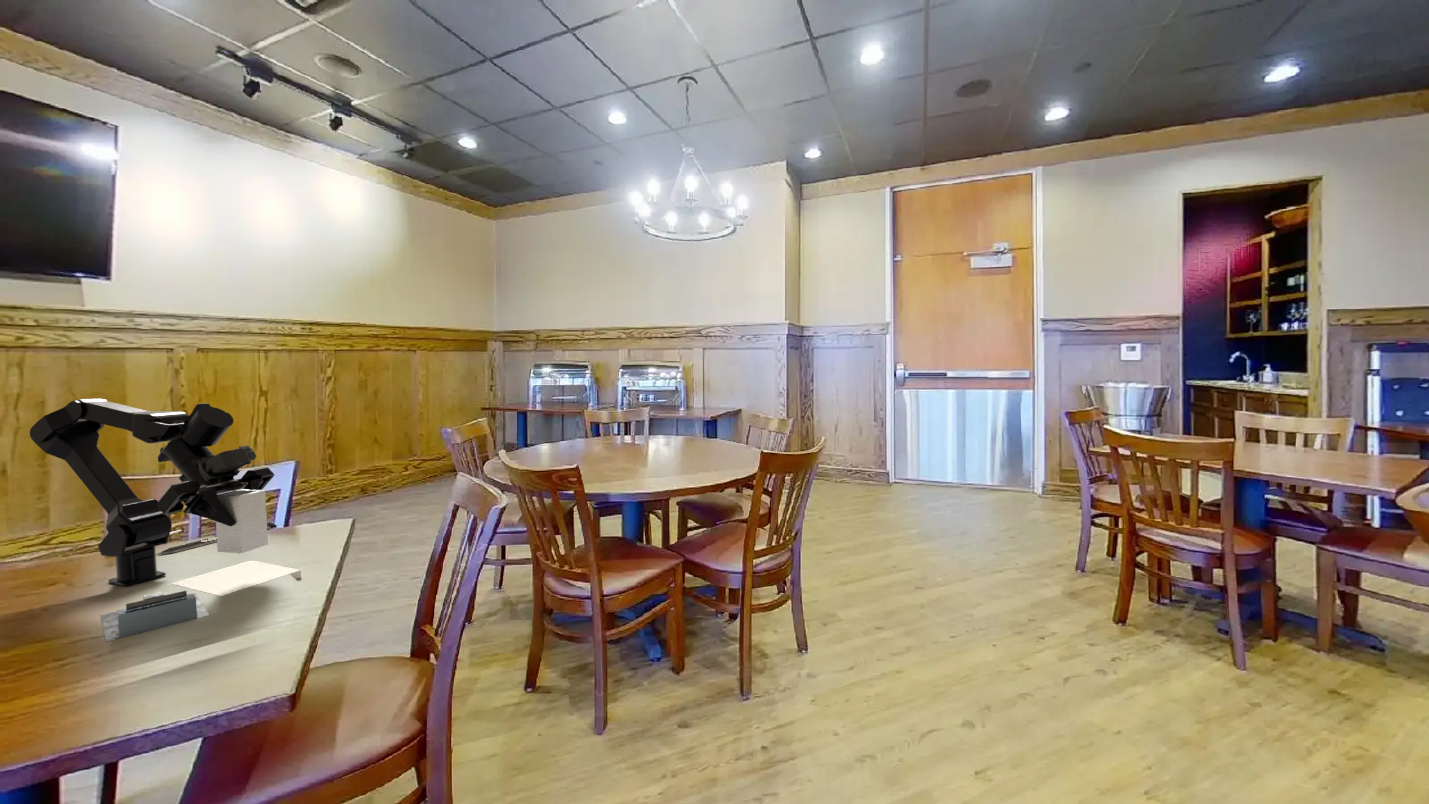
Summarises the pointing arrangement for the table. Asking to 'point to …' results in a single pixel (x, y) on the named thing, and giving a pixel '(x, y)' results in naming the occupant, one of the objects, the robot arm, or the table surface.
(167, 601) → the grey piece
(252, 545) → the square hollow tube
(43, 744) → the table surface
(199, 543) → the knife
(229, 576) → the cutting board
